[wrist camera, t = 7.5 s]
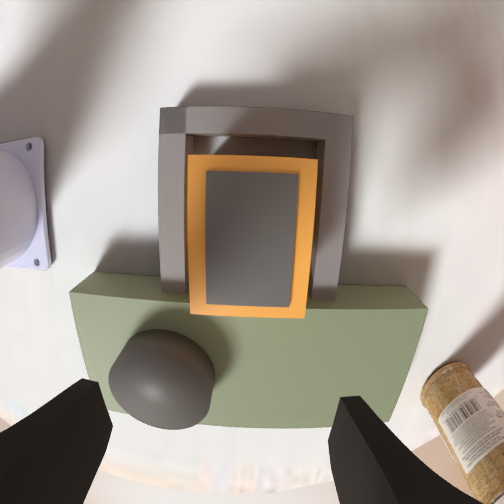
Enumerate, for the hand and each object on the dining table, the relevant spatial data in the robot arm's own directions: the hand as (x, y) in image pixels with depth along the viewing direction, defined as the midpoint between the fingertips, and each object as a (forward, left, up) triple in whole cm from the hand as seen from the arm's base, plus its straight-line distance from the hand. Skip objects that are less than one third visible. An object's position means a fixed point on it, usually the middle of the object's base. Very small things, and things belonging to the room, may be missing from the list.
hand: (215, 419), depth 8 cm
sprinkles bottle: (+16, -7, -9) cm, 20 cm away
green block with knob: (+1, +1, -9) cm, 9 cm away
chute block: (+1, +5, -9) cm, 10 cm away
